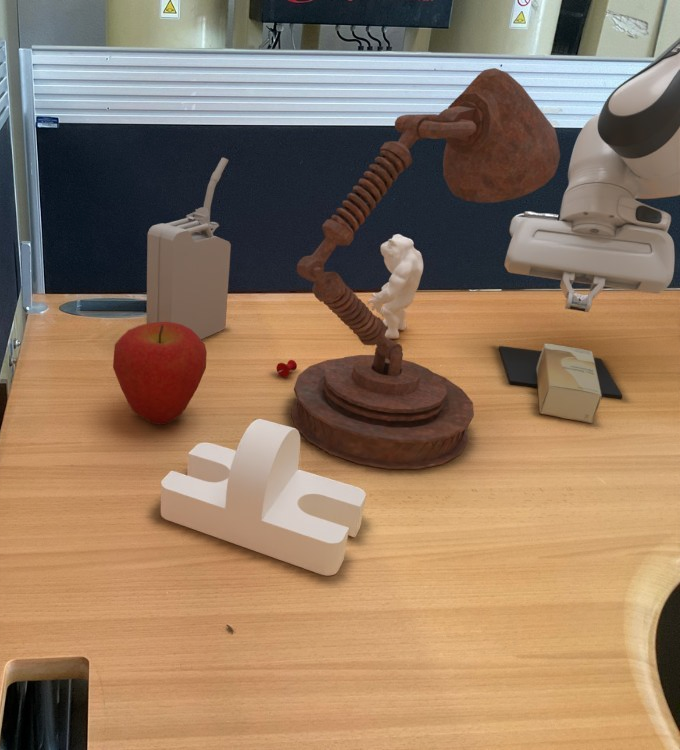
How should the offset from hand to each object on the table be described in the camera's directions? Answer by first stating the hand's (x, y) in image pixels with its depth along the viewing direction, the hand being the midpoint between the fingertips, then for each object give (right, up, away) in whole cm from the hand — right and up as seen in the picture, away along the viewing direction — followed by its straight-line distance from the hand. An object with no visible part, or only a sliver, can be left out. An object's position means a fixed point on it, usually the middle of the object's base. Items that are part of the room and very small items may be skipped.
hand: (577, 308), depth 101 cm
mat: (0, -8, +6) cm, 10 cm away
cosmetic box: (-1, -7, +3) cm, 7 cm away
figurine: (-21, -2, +17) cm, 27 cm away
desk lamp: (-27, -14, -8) cm, 32 cm away
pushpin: (-39, -9, +2) cm, 40 cm away
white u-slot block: (-45, -23, -26) cm, 57 cm away
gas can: (-51, -3, +14) cm, 53 cm away
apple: (-56, -14, -9) cm, 58 cm away
